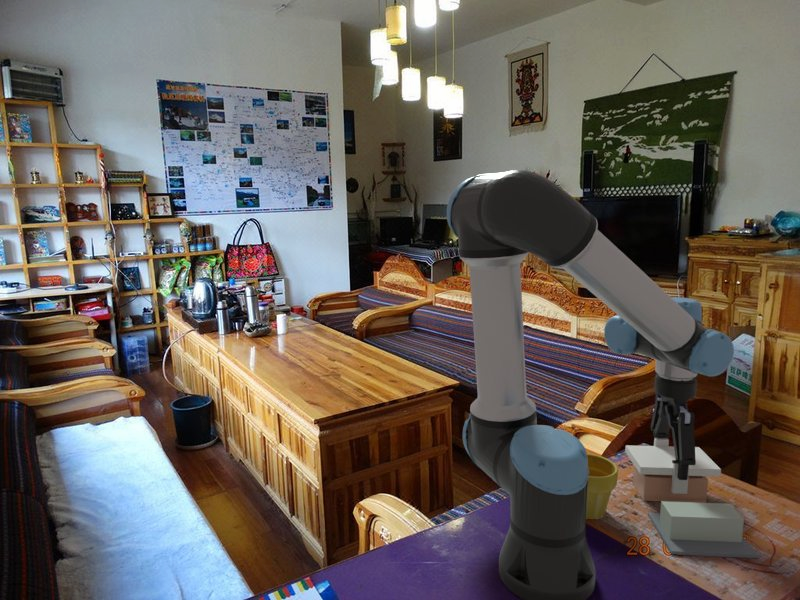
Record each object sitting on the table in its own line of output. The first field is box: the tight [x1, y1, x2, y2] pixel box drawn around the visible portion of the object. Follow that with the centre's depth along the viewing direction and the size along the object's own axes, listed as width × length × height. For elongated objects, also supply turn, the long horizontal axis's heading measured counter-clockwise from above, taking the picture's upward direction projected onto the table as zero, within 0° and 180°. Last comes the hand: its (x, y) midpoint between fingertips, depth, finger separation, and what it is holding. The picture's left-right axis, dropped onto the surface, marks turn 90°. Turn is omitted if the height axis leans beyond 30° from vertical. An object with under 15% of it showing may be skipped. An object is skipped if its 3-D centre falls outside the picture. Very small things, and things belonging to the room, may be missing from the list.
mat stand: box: [647, 501, 759, 559], centre depth 99 cm, size 14×12×5 cm
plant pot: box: [586, 453, 619, 520], centre depth 107 cm, size 10×10×10 cm
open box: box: [632, 465, 709, 503], centre depth 114 cm, size 12×7×5 cm, turn 84°
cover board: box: [624, 444, 722, 477], centre depth 113 cm, size 15×10×2 cm, turn 84°
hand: (669, 479), depth 114 cm, fingers closed on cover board, 10 cm apart
